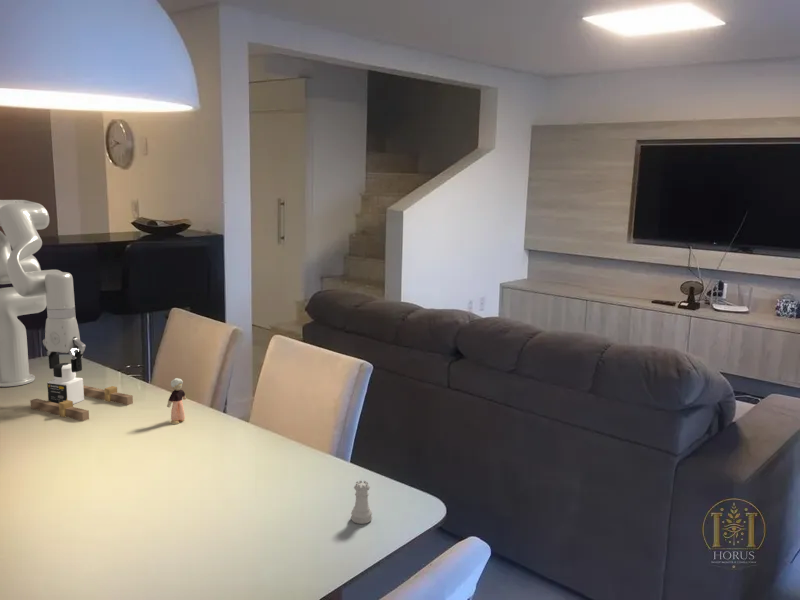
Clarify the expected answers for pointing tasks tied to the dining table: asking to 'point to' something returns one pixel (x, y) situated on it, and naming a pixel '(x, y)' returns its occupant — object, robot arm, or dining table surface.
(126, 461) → the dining table surface
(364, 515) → the rook chess piece
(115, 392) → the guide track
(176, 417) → the grandmother figurine
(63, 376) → the medicine bottle
